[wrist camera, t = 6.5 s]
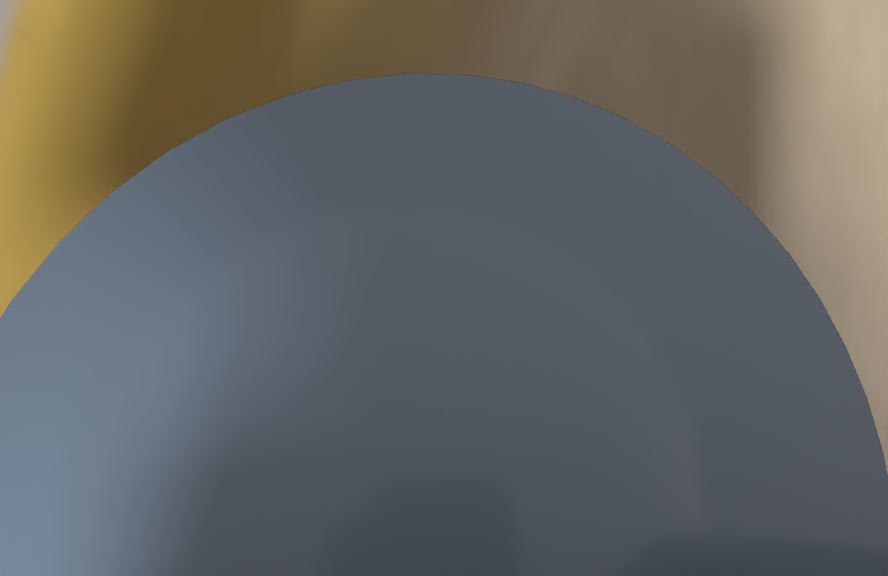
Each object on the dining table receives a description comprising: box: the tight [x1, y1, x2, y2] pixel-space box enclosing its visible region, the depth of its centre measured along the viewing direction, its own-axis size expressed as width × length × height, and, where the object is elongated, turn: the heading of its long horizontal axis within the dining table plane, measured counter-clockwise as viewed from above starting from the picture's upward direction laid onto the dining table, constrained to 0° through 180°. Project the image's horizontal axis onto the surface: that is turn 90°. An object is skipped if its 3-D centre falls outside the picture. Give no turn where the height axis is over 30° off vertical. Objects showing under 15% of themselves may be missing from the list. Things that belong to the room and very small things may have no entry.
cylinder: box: [0, 74, 888, 576], centre depth 10 cm, size 5×5×13 cm
